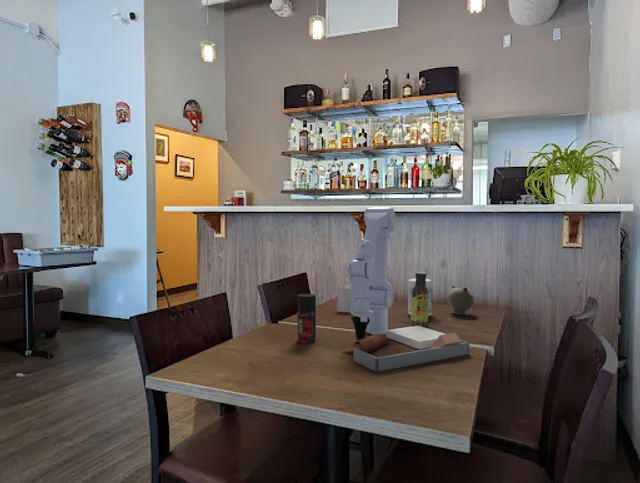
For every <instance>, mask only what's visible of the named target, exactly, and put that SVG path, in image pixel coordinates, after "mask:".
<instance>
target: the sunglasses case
mask: <svg viewBox="0 0 640 483" xmlns="http://www.w3.org/2000/svg"><path fill="white" fill-rule="evenodd" d="M388 344H389V338H387V337H386V334H376V335H372V334H371V335H368V336H365V337H364V338H363V339H361V340H357V341H354V343H353V344H351V345H348V347H345V349H343V350H342V351H341V352H340V353H341V354H344V355H349V356H352V357H354V348H356V349H359V350H361V351H363V352H365V353H368V354H371V353H372V352H373V351H374V352H375V351H376V350H378V349H380V348H382V347H384V346H386V345H388Z"/></svg>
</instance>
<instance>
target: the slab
mask: <svg viewBox="0 0 640 483" xmlns="http://www.w3.org/2000/svg"><path fill="white" fill-rule="evenodd" d="M444 334H445V332H441V331H437V330H434V329H430V328H427V327H425V326H424V327H421V326H413V325H411V326H407V327H405V326H404V327H400V328H398V327H397V328H391V329H388V330H386V334H385V336H386V337H387V338H388V339H390V340H393V341H395V342H398V343H400V344H401V343H402V344H403V345H406V346H409V347H412V348H415V349H417V350H424V349H430V348H431V346H432V344H433V343H434V342H435V341H436V340H437V338H438V337H439V336H440V335H444Z"/></svg>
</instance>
